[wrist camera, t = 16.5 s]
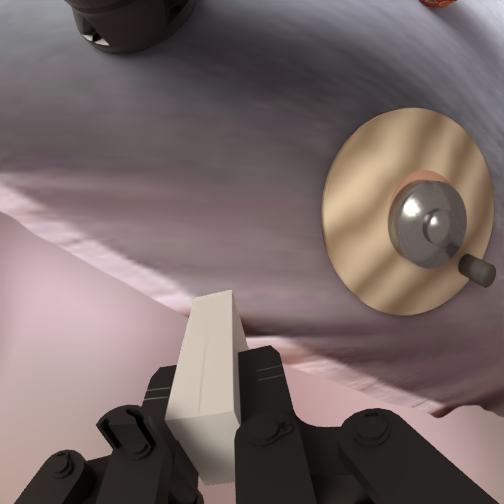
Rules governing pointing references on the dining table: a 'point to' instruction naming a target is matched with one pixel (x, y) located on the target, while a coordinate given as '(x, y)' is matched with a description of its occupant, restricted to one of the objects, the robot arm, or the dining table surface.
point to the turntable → (379, 202)
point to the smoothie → (437, 2)
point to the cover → (427, 222)
